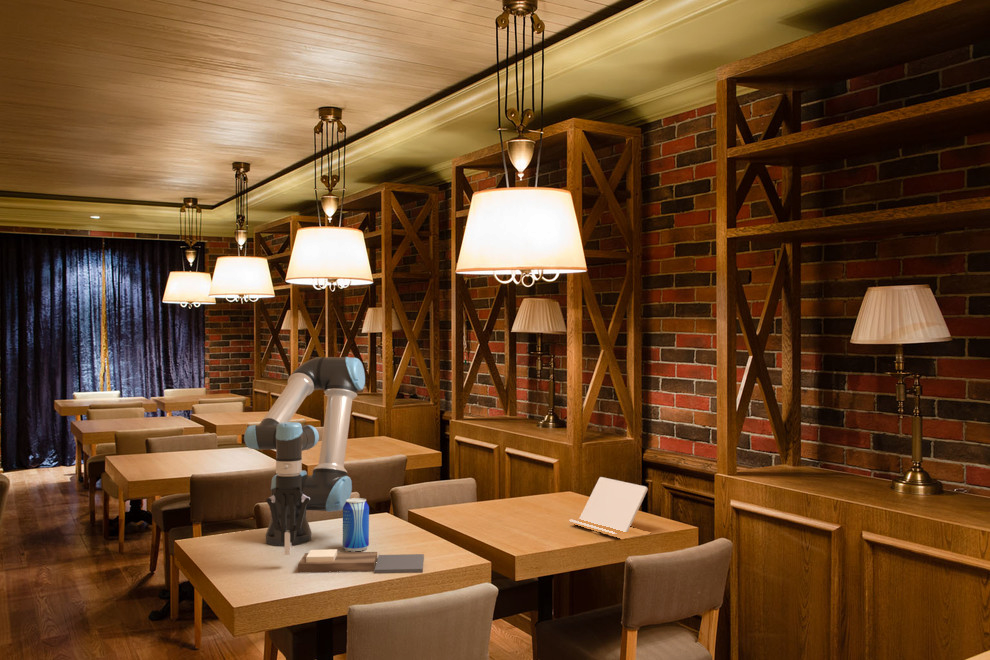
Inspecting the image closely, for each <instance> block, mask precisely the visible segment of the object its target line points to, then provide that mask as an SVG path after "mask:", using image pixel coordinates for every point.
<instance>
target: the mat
mask: <svg viewBox="0 0 990 660" xmlns="http://www.w3.org/2000/svg"><path fill="white" fill-rule="evenodd" d="M424 557H425V554H423V553H417V554H416V553H414V554H413V553H412V554H410V553H409V554H404V553H403V554H378V555H377V563H376V566H375V569H374V571H373V572H374V574H398V573H399V574H401V573H402V574H405V573H407V574H408V573H409V574H411V573H423V572H424V571H423V570H424V560H425V559H424Z"/></svg>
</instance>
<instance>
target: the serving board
mask: <svg viewBox="0 0 990 660" xmlns="http://www.w3.org/2000/svg"><path fill="white" fill-rule="evenodd" d="M308 553H309V552H305V553H303V554H304V555H303V556H302V557H301V559H300V561H299V562H298V563H297V573H298V572H311V573H340V572H339V571H362V572H374V570H375V566H376V562H377V559H378V551H361V552H348V551H345V552H344V551H343V552H341V551H340V552H337V556H336V558H335V560H334V562H306V557H307V555H308ZM329 571H331V572H329ZM337 571H338V572H337Z"/></svg>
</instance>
